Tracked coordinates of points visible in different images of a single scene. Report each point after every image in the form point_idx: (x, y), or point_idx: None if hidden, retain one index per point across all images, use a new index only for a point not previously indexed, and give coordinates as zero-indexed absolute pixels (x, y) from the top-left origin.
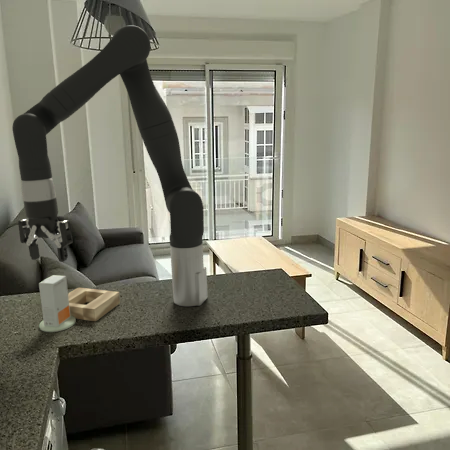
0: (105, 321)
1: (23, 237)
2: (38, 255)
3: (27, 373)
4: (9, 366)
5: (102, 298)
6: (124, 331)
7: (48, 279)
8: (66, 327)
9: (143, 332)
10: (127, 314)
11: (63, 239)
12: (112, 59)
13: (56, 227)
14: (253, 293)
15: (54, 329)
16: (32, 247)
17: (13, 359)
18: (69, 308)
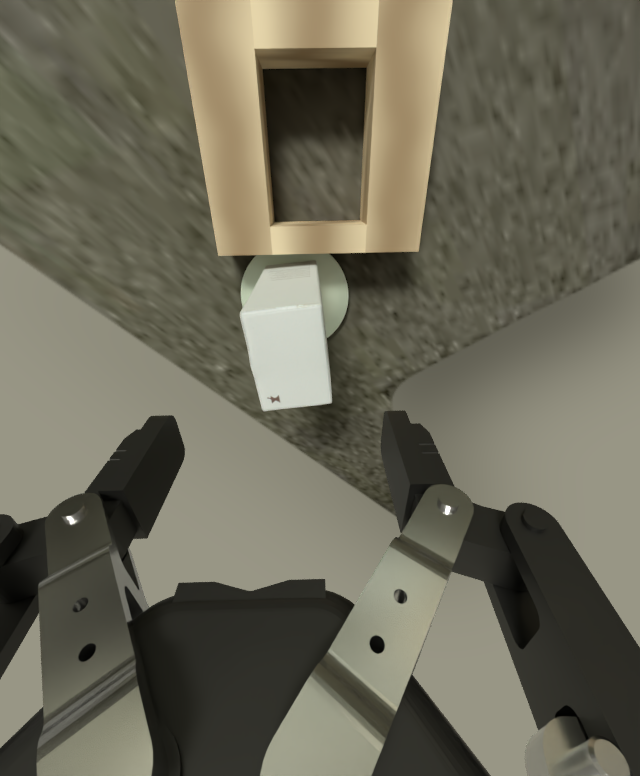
0: (439, 233)
1: (26, 627)
2: (167, 430)
3: (382, 469)
4: (332, 464)
5: (401, 131)
6: (524, 278)
7: (271, 370)
8: (343, 316)
9: (586, 267)
10: (502, 149)
11: (514, 617)
12: None
13: (441, 753)
14: None
15: None
16: (148, 523)
17: (320, 448)
18: (317, 268)
